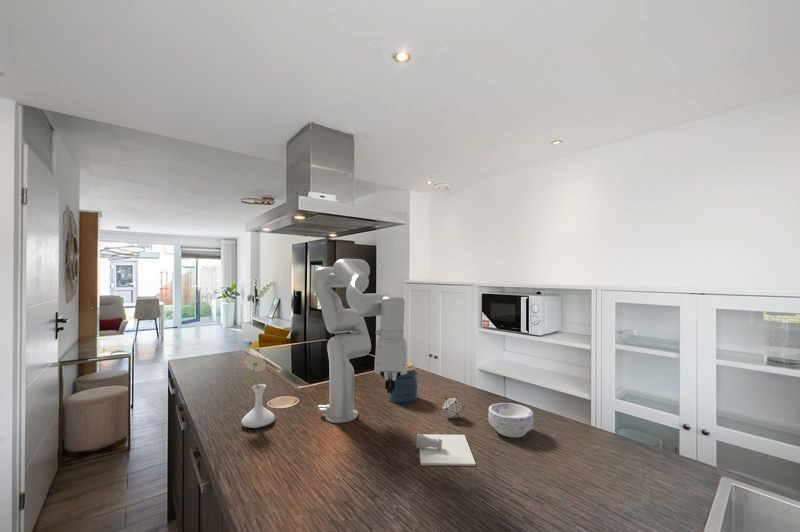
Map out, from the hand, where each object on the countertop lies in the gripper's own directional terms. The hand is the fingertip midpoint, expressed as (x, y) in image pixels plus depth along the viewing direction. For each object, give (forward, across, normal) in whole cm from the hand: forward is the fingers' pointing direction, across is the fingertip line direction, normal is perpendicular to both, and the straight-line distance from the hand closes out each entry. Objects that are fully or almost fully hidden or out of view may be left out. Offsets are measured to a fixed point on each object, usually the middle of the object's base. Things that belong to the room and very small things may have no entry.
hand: (389, 391), depth 111 cm
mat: (+17, +18, -1) cm, 25 cm away
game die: (+18, +24, +23) cm, 38 cm away
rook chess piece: (+15, +9, -1) cm, 17 cm away
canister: (+19, +5, +43) cm, 47 cm away
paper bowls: (+17, +43, +12) cm, 48 cm away
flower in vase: (+20, -49, +16) cm, 55 cm away
